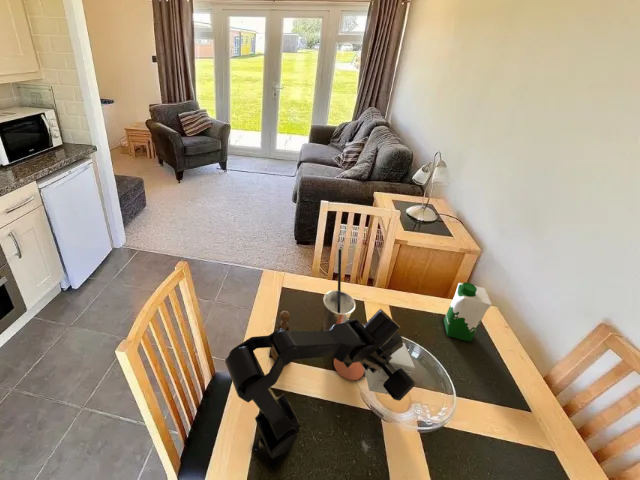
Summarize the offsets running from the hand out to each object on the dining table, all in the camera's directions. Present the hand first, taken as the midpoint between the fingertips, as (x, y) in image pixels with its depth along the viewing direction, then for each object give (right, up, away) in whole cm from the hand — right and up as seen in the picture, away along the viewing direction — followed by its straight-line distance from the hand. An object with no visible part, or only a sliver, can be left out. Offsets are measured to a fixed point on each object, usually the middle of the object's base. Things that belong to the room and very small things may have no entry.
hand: (388, 364), depth 85 cm
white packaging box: (-2, -6, +3) cm, 7 cm away
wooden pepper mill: (-28, -5, +15) cm, 32 cm away
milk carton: (+35, -2, +25) cm, 43 cm away
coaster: (-7, -7, +12) cm, 16 cm away
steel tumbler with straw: (-10, -2, +23) cm, 25 cm away
